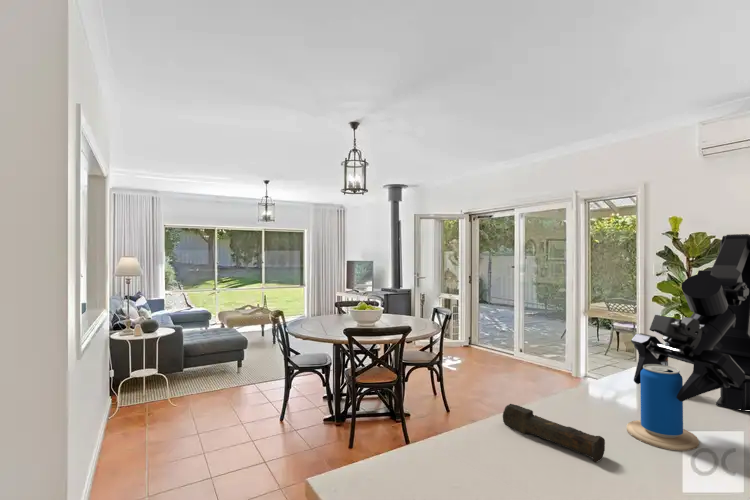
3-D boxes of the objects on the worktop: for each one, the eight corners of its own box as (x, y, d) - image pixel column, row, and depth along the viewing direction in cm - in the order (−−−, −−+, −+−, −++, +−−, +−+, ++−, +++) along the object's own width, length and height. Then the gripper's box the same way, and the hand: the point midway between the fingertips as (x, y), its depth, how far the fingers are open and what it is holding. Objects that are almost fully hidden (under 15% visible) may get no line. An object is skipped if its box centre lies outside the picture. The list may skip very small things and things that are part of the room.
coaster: (637, 418, 83) (637, 415, 83) (705, 436, 75) (705, 433, 75) (618, 434, 76) (618, 431, 76) (690, 457, 67) (690, 453, 67)
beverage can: (685, 443, 71) (684, 375, 71) (641, 434, 74) (640, 370, 74) (681, 429, 76) (680, 366, 76) (640, 421, 80) (639, 361, 80)
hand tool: (607, 458, 68) (607, 430, 68) (596, 465, 66) (595, 437, 66) (511, 420, 83) (511, 398, 83) (499, 425, 81) (499, 402, 81)
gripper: (638, 295, 85) (592, 349, 83) (730, 307, 67) (675, 378, 65) (669, 330, 87) (626, 384, 85) (769, 351, 68) (716, 422, 66)
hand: (655, 390), depth 75 cm, fingers open, 9 cm apart
